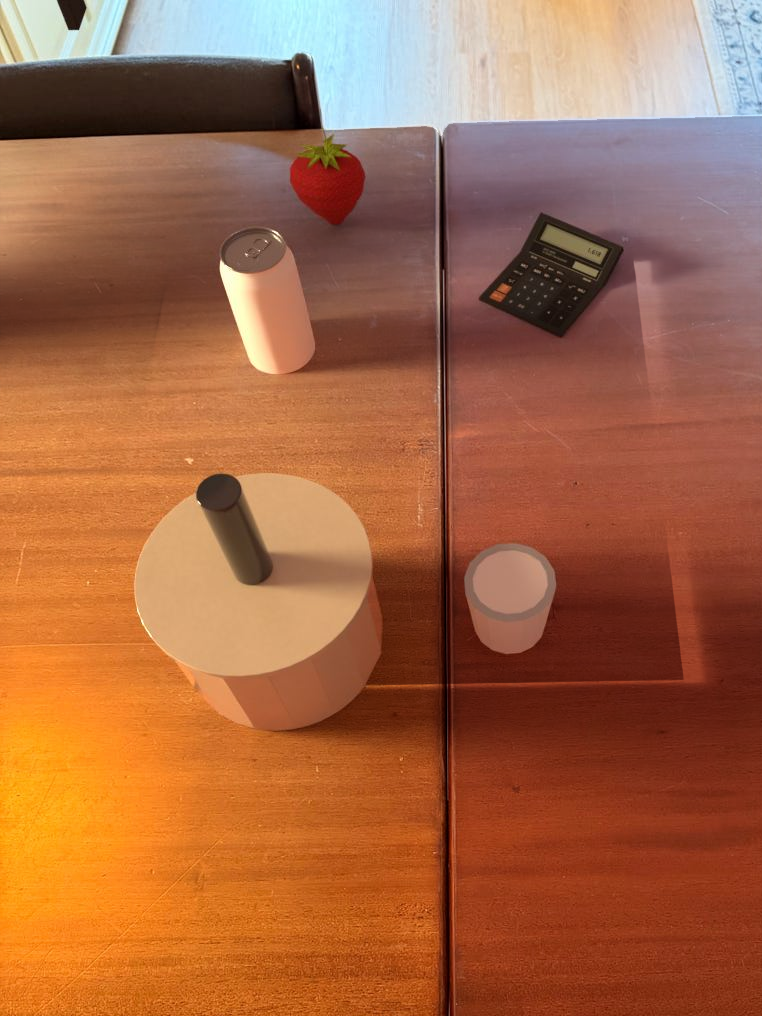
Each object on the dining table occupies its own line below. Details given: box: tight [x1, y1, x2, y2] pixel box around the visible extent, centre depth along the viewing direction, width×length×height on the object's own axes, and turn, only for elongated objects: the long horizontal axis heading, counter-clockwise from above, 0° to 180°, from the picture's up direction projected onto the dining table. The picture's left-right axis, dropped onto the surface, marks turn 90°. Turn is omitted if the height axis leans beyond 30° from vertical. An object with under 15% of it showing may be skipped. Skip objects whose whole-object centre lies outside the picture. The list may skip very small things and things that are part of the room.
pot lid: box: [133, 472, 374, 680], centre depth 62 cm, size 17×17×10 cm
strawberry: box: [289, 126, 366, 226], centre depth 93 cm, size 6×8×10 cm
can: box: [219, 225, 316, 375], centre depth 84 cm, size 6×6×12 cm
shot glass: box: [463, 542, 557, 655], centre depth 72 cm, size 7×7×7 cm
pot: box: [174, 576, 384, 732], centre depth 70 cm, size 16×16×10 cm
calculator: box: [478, 211, 625, 339], centre depth 91 cm, size 9×12×3 cm
